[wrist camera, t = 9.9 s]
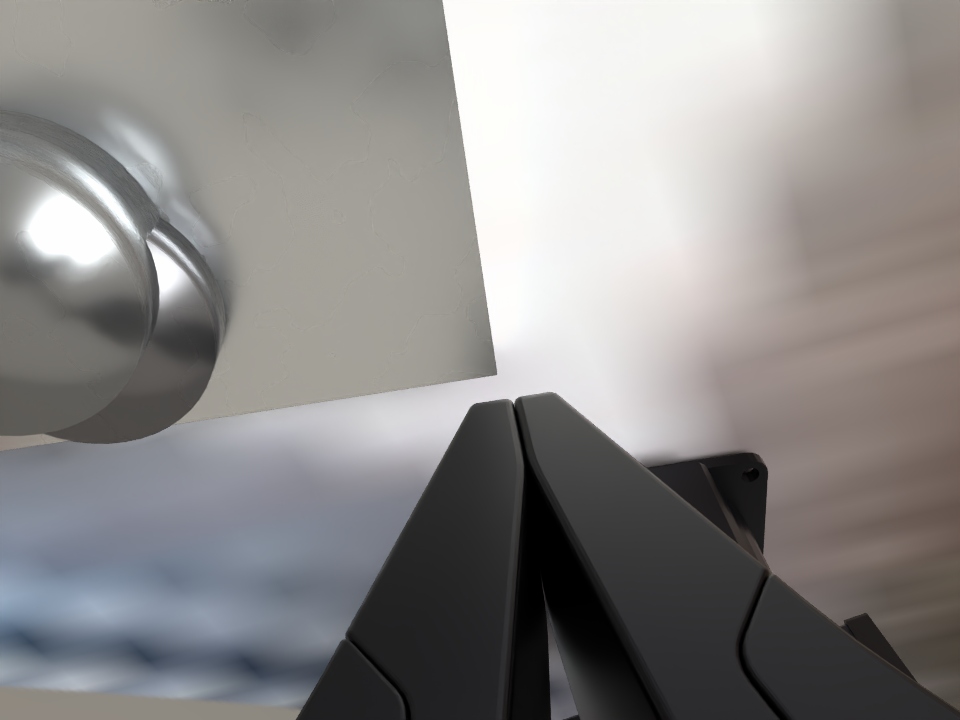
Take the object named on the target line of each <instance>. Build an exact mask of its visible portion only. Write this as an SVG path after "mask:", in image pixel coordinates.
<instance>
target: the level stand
mask: <svg viewBox="0 0 960 720" xmlns="http://www.w3.org/2000/svg"><path fill="white" fill-rule="evenodd" d="M0 110H7V111H13V112H19V113H25V114H29V115H33V116H36V117H40V118H43V119H47V120H50V121H52V122H55V123H57V124H59V125H62V126H64V127H67V128H69V129H71V130H73V131H75V132H76V133H78V134H80V135H82V136H84V137H86V138H88V139H89V140H91V141H92V142H94V143H95V144H97V145H98V146H99V147H101V148H102V149H104V150H105V151H107V152H108V153H109V154H110V155H111V156H113V157H114V158H115V159H116V160H117V161H118V162H120V163H121V164H122V165H123V166H124V167H125V168H126V169H127V170H128V171H129V172H130V173H131V174H132V176H133V177H134V178H135V179H136V180H137V181H138V182H139V184H140V185H141V186H142V188H143V189H144V190H145V192H146V193H147V194H148V196H149V197H150V199H151V200H152V202H153V204H154V206H155V207H156V209H157V211H158V212H159V214H160V217H161V218H162V219H164V220H165V221H167V222H168V223H170V224H171V225H172V226H173V227H175V228H176V229H177V230H178V231H179V232H181V233H182V234H183V235H184V236H185V237H186V238H187V239H188V240H189V241H190V242H191V243H192V244H193V245H194V247H195V248H196V249H197V250H198V251H199V253H200V254H201V255H202V257H203V258H204V259H205V261H206V262H207V264H208V266H209V268H210V269H211V271H212V273H213V275H214V276H215V279H216V281H217V284H218V286H219V289H220V291H221V295H222V299H223V303H224V310H225V335H224V339H223V344H222V348H221V351H220V353H219V356H218V359H217V362H216V364H215V367H214V370H213V372H212V375H211V378H210V380H209V383H208V385H207V388H206V390H205V391H204V393H203V395H202V396H201V398H200V400H199V401H198V402H197V403H196V404H195V406H194V407H193V408H192V409H191V410H190V411H189V412H188V413H187V414H186V415H185V416H184V417H182V418H181V419H180V420H179V421H177V422H176V423H174V424H181V423H187V422H194V421H200V420H207V419H213V418H220V417H226V416H233V415H239V414H246V413H252V412H259V411H265V410H272V409H278V408H285V407H291V406H298V405H304V404H311V403H317V402H324V401H330V400H337V399H343V398H350V397H356V396H363V395H369V394H376V393H382V392H389V391H395V390H402V389H408V388H415V387H421V386H428V385H434V384H441V383H447V382H454V381H460V380H467V379H473V378H480V377H486V376H493V375H497V369H496V362H495V356H494V349H493V342H492V335H491V328H490V322H489V315H488V308H487V301H486V294H485V288H484V281H483V274H482V267H481V260H480V254H479V247H478V240H477V233H476V226H475V219H474V213H473V206H472V199H471V192H470V185H469V179H468V172H467V165H466V158H465V151H464V145H463V138H462V131H461V124H460V117H459V111H458V104H457V97H456V90H455V83H454V77H453V70H452V63H451V56H450V49H449V43H448V36H447V29H446V22H445V15H444V9H443V2H442V0H0ZM174 424H173V425H174ZM64 441H69V440H64V439H59V438H55V437H52V436H49V435H46V434H37V435H26V436H0V451H5V450H12V449H18V448H25V447H31V446H38V445H44V444H51V443H57V442H64Z"/></svg>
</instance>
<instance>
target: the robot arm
mask: <svg viewBox="0 0 960 720" xmlns="http://www.w3.org/2000/svg"><path fill="white" fill-rule="evenodd" d="M514 407H515V408H514ZM750 468H753V469H752V470H751V471H750V472H748V473H743V472H744V471H745V470H747V469H750ZM767 480H768V470H767V467H766V465H765V463H764V462H763V460H762V458H761V457H760V456H759V455H757V454H755V453H742V454H735V455H729V456H722V457H716V458H709V459H703V460H696V461H689V462H683V463H676V464H670V465H663V466H657V467H650V468H646V467H644V466H643V465H642V464H641V463H639V462H638V461H637V460H636V459H635V458H633V457H632V456H631V455H630V454H629V453H627V452H626V451H625V450H624V449H623V448H621V447H620V446H619V445H618V444H617V443H615V442H614V441H613V440H612V439H611V438H609V437H608V436H607V435H606V434H605V433H603V432H602V431H601V430H600V429H598V428H597V427H596V426H595V425H594V424H592V423H591V422H590V421H589V420H588V419H586V418H585V417H584V416H583V415H582V414H580V413H579V412H578V411H577V410H576V409H574V408H573V407H572V406H571V405H570V404H568V403H567V402H566V401H565V400H564V399H562V398H561V397H560V396H559V395H557V394H556V393H553V392H547V393H541V394H534V395H528V396H522V397H518V398H517V399H516V400H515V403H514V404H513V402H512V401H511V400H508V399H502V400H496V401H489V402H482V403H476V404H474V405H472V406H471V407H470V409H469V411H468V413H467V414H466V416H465V418H464V420H463V422H462V423H461V425H460V427H459V429H458V431H457V432H456V434H455V436H454V438H453V440H452V442H451V443H450V445H449V447H448V449H447V451H446V452H445V454H444V456H443V458H442V460H441V461H440V463H439V465H438V467H437V469H436V471H435V472H434V474H433V476H432V478H431V480H430V481H429V483H428V485H427V487H426V489H425V491H424V492H423V494H422V496H421V498H420V500H419V501H418V503H417V505H416V507H415V509H414V510H413V512H412V514H411V516H410V518H409V520H408V521H407V523H406V525H405V527H404V529H403V530H402V532H401V534H400V536H399V538H398V539H397V541H396V543H395V545H394V547H393V549H392V550H391V552H390V554H389V556H388V558H387V559H386V561H385V563H384V565H383V567H382V569H381V570H380V572H379V574H378V576H377V578H376V579H375V581H374V583H373V585H372V587H371V588H370V590H369V592H368V594H367V596H366V598H365V599H364V601H363V603H362V605H361V607H360V608H359V610H358V612H357V614H356V616H355V617H354V619H353V621H352V623H351V625H350V627H349V628H348V630H347V632H346V635H345V636H346V639H344V640H342V641H341V642H340V644H339V645H338V647H337V649H336V651H335V653H334V655H333V657H332V658H331V660H330V662H329V664H328V666H327V668H326V669H325V671H324V673H323V675H322V677H321V678H320V680H319V682H318V683H317V685H316V687H315V688H314V690H313V692H312V693H311V695H310V697H309V698H308V700H307V702H306V704H305V705H304V707H303V709H302V710H301V712H300V714H299V715H298V717H297V719H296V720H551V707H550V680H549V654H548V632H547V618H546V609H545V601H546V605H547V610H548V615H549V618H550V622H551V626H552V629H553V633H554V637H555V640H556V643H557V646H558V650H559V653H560V656H561V659H562V662H563V666H564V669H565V672H566V675H567V679H568V682H569V685H570V688H571V691H572V695H573V698H574V701H575V704H576V708H577V711H578V715H575V716H572V717H569V718H566V719H563V720H960V711H959V710H957V709H956V708H954V707H953V706H951V705H950V704H948V703H947V702H945V701H944V700H942V699H941V698H939V697H938V696H936V695H935V694H933V693H932V692H930V691H929V690H927V689H926V688H924V687H923V686H921V685H920V684H919V683H918V682H917V681H916V680H915V678H914V677H913V676H912V674H911V673H910V671H909V670H908V669H907V667H906V666H905V665H904V663H903V662H902V661H901V659H900V658H899V657H898V655H897V654H896V652H895V651H894V650H893V648H892V647H891V646H890V644H889V643H888V642H887V640H886V639H885V637H884V636H883V635H882V633H881V632H880V631H879V629H878V628H877V627H876V625H875V624H874V623H873V621H872V620H871V618H870V617H869V616H868V614H867V613H864V614H861V615H858V616H855V617H853V618H850V619H847V620H844V623H845V625H842V626H838V625H837V624H836V623H834V622H833V621H832V620H831V619H829V618H828V617H827V616H826V615H824V614H823V613H822V612H820V611H819V610H818V609H817V608H815V607H814V606H813V605H811V604H810V603H809V602H808V601H806V600H805V599H804V598H803V597H802V596H800V595H799V594H798V593H797V592H795V591H794V590H793V589H792V588H791V587H789V586H788V585H787V584H786V583H785V582H783V581H782V580H781V579H780V578H779V577H777V576H776V575H773V574H772V572H771V570H770V568H769V566H768V564H767V562H766V560H765V558H764V556H763V548H764V531H765V514H766V497H767ZM542 585H543V586H542ZM543 591H544V594H543ZM544 596H545V601H544Z"/></svg>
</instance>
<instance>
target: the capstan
mask: <svg viewBox="0 0 960 720" xmlns="http://www.w3.org/2000/svg"><path fill="white" fill-rule="evenodd" d="M224 335H225V310H224V303H223V299H222V295H221V291H220V289H219V286H218V284H217V281H216V279H215V276H214V275H213V273H212V271H211V269H210V268H209V266H208V264H207V262H206V261H205V259H204V258H203V257H202V255H201V254H200V253H199V251H198V250H197V249H196V248H195V247H194V245H193V244H192V243H191V242H190V241H189V240H188V239H187V238H186V237H185V236H184V235H183V234H182V233H181V232H179V231H178V230H177V229H176V228H175V227H173V226H172V225H171V224H170V223H168V222H167V221H165V220H164V219H162V218H161V217H160V214H159V212H158V211H157V209H156V207H155V206H154V204H153V202H152V200H151V199H150V197H149V196H148V194H147V193H146V192H145V190H144V189H143V188H142V186H141V185H140V184H139V182H138V181H137V180H136V179H135V178H134V177H133V176H132V174H131V173H130V172H129V171H128V170H127V169H126V168H125V167H124V166H123V165H122V164H121V163H120V162H118V161H117V160H116V159H115V158H114V157H113V156H111V155H110V154H109V153H108V152H107V151H105V150H104V149H102V148H101V147H99V146H98V145H97V144H95V143H94V142H92V141H91V140H89V139H88V138H86V137H84V136H82V135H80V134H78V133H76V132H75V131H73V130H71V129H69V128H67V127H64V126H62V125H59V124H57V123H55V122H52V121H50V120H47V119H43V118H40V117H36V116H33V115H29V114H25V113H19V112H13V111H7V110H0V436H26V435H37V434H46V435H49V436H52V437H55V438H59V439H64V440H69V441H74V442H83V443H102V444H109V443H119V442H127V441H132V440H136V439H141V438H144V437H147V436H150V435H153V434H155V433H157V432H160V431H162V430H164V429H166V428H168V427H169V426H171V425H173V424H174V423H176V422H177V421H179V420H180V419H181V418H182V417H184V416H185V415H186V414H187V413H188V412H189V411H190V410H191V409H192V408H193V407H194V406H195V404H196V403H197V402H198V401H199V400H200V398H201V396H202V395H203V393H204V391H205V390H206V388H207V385H208V383H209V380H210V378H211V375H212V372H213V370H214V367H215V364H216V362H217V359H218V356H219V353H220V351H221V348H222V344H223V339H224Z"/></svg>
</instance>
